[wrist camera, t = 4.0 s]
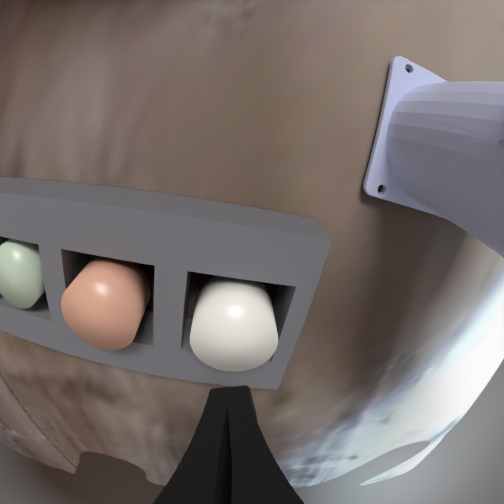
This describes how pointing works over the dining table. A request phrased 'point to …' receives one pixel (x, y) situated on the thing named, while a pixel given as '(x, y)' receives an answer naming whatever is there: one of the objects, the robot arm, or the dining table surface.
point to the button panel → (160, 268)
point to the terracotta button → (107, 302)
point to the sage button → (20, 273)
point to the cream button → (233, 324)
